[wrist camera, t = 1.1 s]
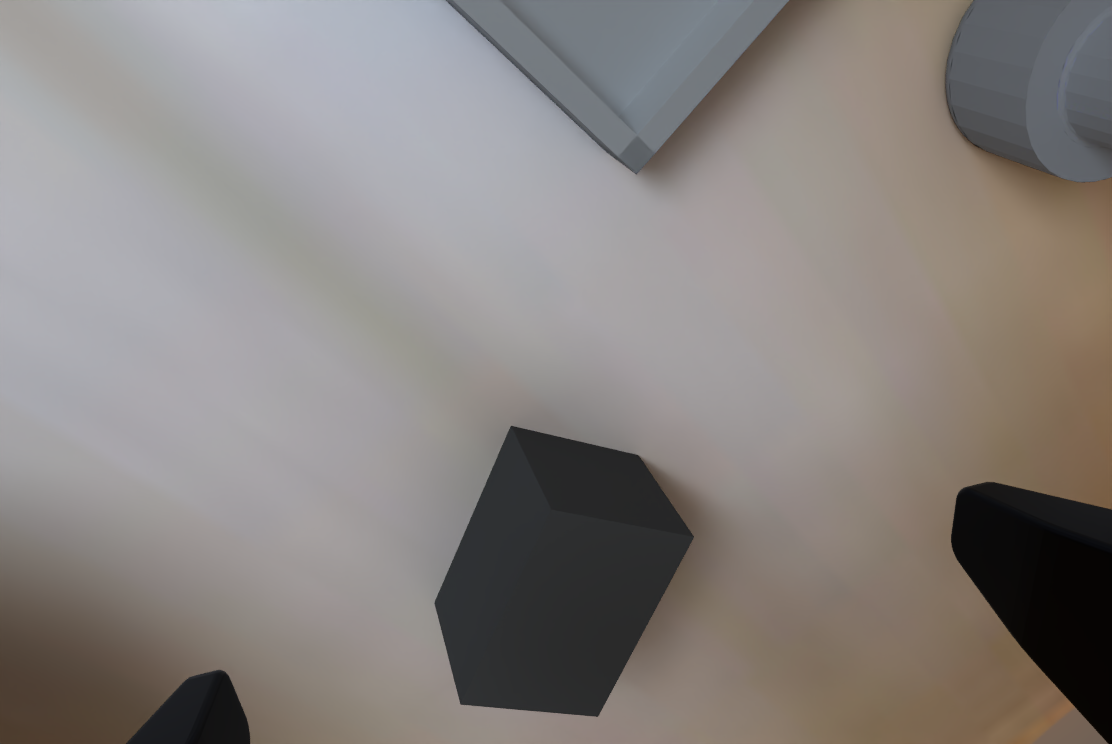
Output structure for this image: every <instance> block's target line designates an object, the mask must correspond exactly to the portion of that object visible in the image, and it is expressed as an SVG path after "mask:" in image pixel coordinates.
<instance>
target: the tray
mask: <svg viewBox="0 0 1112 744" xmlns="http://www.w3.org/2000/svg"><path fill="white" fill-rule="evenodd" d="M446 1H447V2H448V3H449V4H450V5H451V6H452V7H453V8H454V9H455V10H457V11H458V12H459V13H460V14H461V15H462V16H463V17H464V18H465V19H466V20H467V21H468V22H469V23H470V24H471V25H472V26H473V27H475V28H476V29H477V30H478V31H479V32H480V33H481V34H482V35H483V36H484V37H485V38H486V39H487V40H488V41H489V42H490V43H491V44H493V45H494V46H495V47H496V48H497V49H498V50H499V51H500V52H501V53H502V54H503V55H504V56H505V57H506V58H507V59H508V60H509V61H511V62H512V63H513V64H514V65H515V66H516V67H517V68H518V69H519V70H520V71H521V72H522V73H523V74H524V75H525V76H526V77H528V78H529V79H530V80H531V81H532V82H533V83H534V84H535V85H536V86H537V87H538V88H539V89H540V90H541V91H542V92H543V93H544V94H546V95H547V96H548V97H549V98H550V99H551V100H552V101H553V102H554V103H555V104H556V105H557V106H558V107H559V108H560V109H561V110H562V111H564V112H565V113H566V114H567V115H568V116H569V117H570V118H571V119H572V120H573V121H574V122H575V123H576V124H577V125H578V126H579V127H580V128H582V129H583V130H584V131H585V132H586V133H587V134H588V135H589V136H590V137H591V138H592V139H593V140H594V141H595V142H596V143H597V144H598V145H600V146H601V147H602V148H603V149H604V150H605V151H606V152H607V153H608V154H610V155H611V156H612V157H614V158H615V159H616V160H618V161H619V162H621V163H622V164H623V165H625V166H626V167H627V168H629V169H630V170H631V171H633V172H634V173H635V174H637V173H638V172H639V171H640V170H641V169H642V168H643V166H644V165H645V164H646V163H647V162H648V161H649V160H650V158H651V157H652V156H653V155H654V154H655V153H656V152H657V150H658V149H659V148H660V147H661V146H662V145H663V144H664V142H665V141H666V140H667V139H668V138H669V137H670V136H671V135H672V133H673V132H674V131H675V130H676V129H677V128H678V127H679V125H680V124H681V123H682V122H683V121H684V120H685V119H686V117H687V116H688V115H689V114H690V113H691V112H692V111H693V109H694V108H695V107H696V106H697V105H698V104H699V103H700V101H701V100H702V99H703V98H704V97H705V96H706V95H707V93H708V92H709V91H710V90H711V89H712V88H713V87H714V85H715V84H716V83H717V82H718V81H719V80H720V79H721V77H722V76H723V75H724V74H725V73H726V72H727V71H728V69H729V68H730V67H731V66H732V65H733V64H734V63H735V61H736V60H737V59H738V58H739V57H740V56H741V55H742V54H743V52H744V51H745V50H746V49H747V48H748V47H749V46H750V44H751V43H752V42H753V41H754V40H755V39H756V38H757V36H758V35H759V34H760V33H761V32H762V31H763V30H764V28H765V27H766V26H767V25H768V24H769V23H770V22H771V20H772V19H773V18H774V17H775V16H776V15H777V14H778V12H779V11H780V10H781V9H782V8H783V7H784V6H785V4H786V3H787V2H788V1H789V0H446Z"/></svg>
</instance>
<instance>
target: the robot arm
mask: <svg viewBox="0 0 1112 744" xmlns="http://www.w3.org/2000/svg"><path fill="white" fill-rule="evenodd" d="M951 543H952V548H953V552H954V554H955V556H956V559H957V560H958V562H959V563H960V565H961V566H962V567H963V569H964V570H965V572H966V573H967V574H968V576H969V577H970V578H971V580H972V581H973V583H974V584H975V585H976V587H977V588H978V589H979V591H980V592H981V594H982V595H983V596H984V598H985V599H986V600H987V602H988V603H989V604H990V606H991V607H992V609H993V610H994V611H995V613H996V614H997V615H998V617H999V618H1000V620H1001V621H1002V622H1003V624H1004V625H1005V626H1006V628H1007V629H1008V631H1009V632H1010V633H1011V635H1012V636H1013V637H1014V638H1015V640H1016V641H1017V642H1018V643H1019V645H1020V646H1021V647H1022V648H1023V650H1024V651H1025V652H1026V653H1027V654H1028V655H1029V657H1030V658H1031V659H1032V660H1033V661H1034V662H1035V663H1036V665H1037V666H1038V667H1039V668H1040V669H1041V670H1042V671H1043V672H1044V673H1045V674H1046V676H1047V677H1048V678H1049V679H1050V680H1051V681H1052V682H1053V683H1054V684H1055V685H1056V687H1057V688H1058V689H1059V690H1060V691H1061V692H1062V693H1063V694H1064V695H1065V696H1066V698H1067V699H1068V700H1069V701H1070V702H1071V703H1072V704H1073V705H1074V706H1075V707H1076V709H1077V710H1078V711H1079V712H1080V713H1081V714H1082V715H1083V716H1084V717H1085V718H1086V720H1087V721H1088V722H1089V723H1090V724H1091V725H1092V726H1093V727H1094V728H1095V729H1096V731H1097V732H1098V733H1099V734H1100V735H1101V736H1102V737H1103V738H1104V739H1105V740H1106V742H1107V743H1108V744H1112V510H1111V509H1107V508H1103V507H1098V506H1094V505H1090V504H1085V503H1081V502H1077V501H1073V500H1068V499H1064V498H1060V497H1055V496H1051V495H1047V494H1042V493H1038V492H1034V491H1029V490H1025V489H1021V488H1017V487H1012V486H1008V485H1004V484H999V483H995V482H985V483H981V484H977V485H972V486H968V487H965V488H963V489H961V490H960V491H959V493H958V495H957V498H956V505H955V512H954V519H953V527H952V534H951ZM126 744H250V732H249V726H248V722H247V718H246V715H245V713H244V711H243V708H242V706H241V703H240V701H239V699H238V696H237V694H236V692H235V689H234V687H233V684H232V682H231V680H230V678H229V676H228V674H227V673H226V672H225V671H222V670H216V671H212V672H208V673H204V674H200V675H196V676H192V677H189V678H188V679H187V680H185V681H184V682H183V683H182V684H181V685H180V686H179V688H178V689H177V690H176V691H175V692H174V693H173V694H172V695H171V696H170V697H169V698H168V699H167V700H166V701H165V702H164V704H163V705H162V706H161V707H160V708H159V709H158V710H157V711H156V712H155V713H154V714H153V715H152V716H151V717H150V719H149V720H148V721H147V722H146V723H145V724H144V725H143V726H142V727H141V728H140V729H139V730H138V731H137V732H136V734H135V735H134V736H133V737H132V738H131V739H130V740H129V741H128V742H127V743H126Z"/></svg>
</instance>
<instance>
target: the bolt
mask: <svg viewBox="0 0 1112 744" xmlns="http://www.w3.org/2000/svg"><path fill="white" fill-rule="evenodd" d="M946 95H947V102H948V105H949V109H950V113H951V115H952V117H953V120H954V122H955V123H956V125H957V126H958V128H959V129H960V131H961V132H962V134H963V135H964V136H965V137H966V138H967V139H968V140H970V141H971V142H972V143H973V144H974V145H976V146H978V147H980V148H982V149H984V150H985V151H987V152H990V153H993V154H995V155H998V156H1001V157H1004V158H1007V159H1009V160H1012V161H1015V162H1018V163H1021V164H1023V165H1026V166H1029V167H1032V168H1035V169H1037V170H1040V171H1043V172H1046V173H1049V174H1051V175H1054V176H1057V177H1060V178H1063V179H1067V180H1071V181H1075V182H1095V181H1099V180H1104V179H1107V178H1111V177H1112V0H974V1H973V2H972V4H971V5H970V7H969V8H968V10H967V11H966V13H965V14H964V16H963V18H962V20H961V22H960V24H959V27H958V29H957V31H956V33H955V36H954V38H953V41H952V45H951V49H950V52H949V56H948V60H947V68H946Z"/></svg>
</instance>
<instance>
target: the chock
mask: <svg viewBox="0 0 1112 744" xmlns="http://www.w3.org/2000/svg"><path fill="white" fill-rule="evenodd" d="M693 538H694V536H693V535H692V533H691V532H690V530H689V529H688V527H687V526H686V524H685V523H684V522H683V520H682V519H681V517H680V516H679V514H678V513H677V511H676V510H675V508H674V507H673V505H672V504H671V502H670V501H669V500H668V498H667V497H666V495H665V494H664V492H663V491H662V489H661V488H660V486H659V485H658V483H657V482H656V481H655V479H654V478H653V476H652V475H651V473H650V472H649V470H648V469H647V467H646V466H645V464H644V463H643V461H642V460H641V459H640V457H639V456H638V455H635V454H631V453H626V452H622V451H618V450H613V449H609V448H605V447H600V446H596V445H592V444H587V443H583V442H579V441H574V440H570V439H566V438H561V437H557V436H553V435H548V434H544V433H540V432H535V431H531V430H527V429H522V428H518V427H514V426H511V427H510V429H509V431H508V434H507V436H506V438H505V441H504V443H503V445H502V448H501V450H500V452H499V455H498V457H497V459H496V462H495V464H494V466H493V468H492V471H491V473H490V475H489V478H488V480H487V482H486V485H485V487H484V489H483V492H482V494H481V496H480V499H479V501H478V503H477V505H476V508H475V510H474V512H473V515H472V517H471V519H470V522H469V524H468V526H467V529H466V531H465V533H464V536H463V538H462V540H461V543H460V545H459V547H458V549H457V552H456V554H455V556H454V559H453V561H452V563H451V566H450V568H449V570H448V573H447V575H446V577H445V580H444V582H443V584H442V586H441V589H440V591H439V593H438V596H437V598H436V600H435V607H436V611H437V614H438V618H439V622H440V626H441V630H442V634H443V638H444V642H445V646H446V650H447V653H448V657H449V661H450V665H451V669H452V673H453V677H454V681H455V685H456V689H457V693H458V696H459V700H460V704H461V705H472V706H483V707H495V708H506V709H517V710H528V711H540V712H551V713H562V714H574V715H585V716H596V717H598V716H599V714H600V712H601V710H602V708H603V706H604V704H605V703H606V701H607V699H608V697H609V695H610V693H611V691H612V689H613V688H614V686H615V684H616V682H617V680H618V678H619V676H620V674H621V673H622V671H623V669H624V667H625V665H626V663H627V661H628V660H629V658H630V656H631V654H632V652H633V650H634V648H635V646H636V645H637V643H638V641H639V639H640V637H641V635H642V633H643V631H644V630H645V628H646V626H647V624H648V622H649V620H650V618H651V617H652V615H653V613H654V611H655V609H656V607H657V605H658V603H659V602H660V600H661V598H662V596H663V594H664V592H665V590H666V588H667V587H668V585H669V583H670V581H671V579H672V577H673V575H674V574H675V572H676V570H677V568H678V566H679V564H680V562H681V560H682V559H683V557H684V555H685V553H686V551H687V549H688V547H689V545H690V544H691V542H692V540H693Z"/></svg>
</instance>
